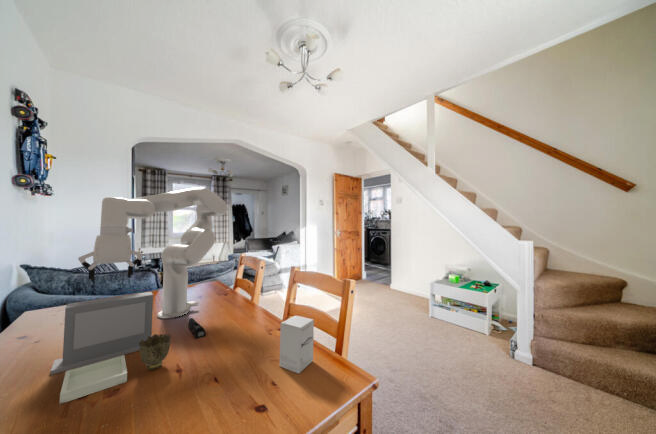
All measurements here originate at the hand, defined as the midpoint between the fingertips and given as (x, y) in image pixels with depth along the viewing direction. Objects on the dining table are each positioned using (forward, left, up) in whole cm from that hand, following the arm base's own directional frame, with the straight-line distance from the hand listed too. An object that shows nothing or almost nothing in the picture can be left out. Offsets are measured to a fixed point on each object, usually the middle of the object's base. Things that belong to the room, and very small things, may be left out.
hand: (111, 278), depth 85 cm
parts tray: (+3, +29, -21) cm, 36 cm away
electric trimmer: (-24, +14, -22) cm, 35 cm away
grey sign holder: (0, +14, -21) cm, 25 cm away
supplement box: (-40, +58, -21) cm, 74 cm away
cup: (-9, +32, -21) cm, 39 cm away
